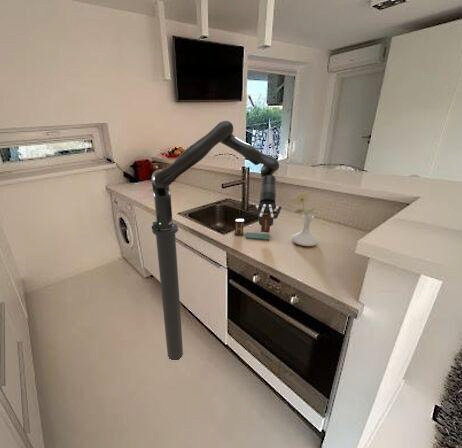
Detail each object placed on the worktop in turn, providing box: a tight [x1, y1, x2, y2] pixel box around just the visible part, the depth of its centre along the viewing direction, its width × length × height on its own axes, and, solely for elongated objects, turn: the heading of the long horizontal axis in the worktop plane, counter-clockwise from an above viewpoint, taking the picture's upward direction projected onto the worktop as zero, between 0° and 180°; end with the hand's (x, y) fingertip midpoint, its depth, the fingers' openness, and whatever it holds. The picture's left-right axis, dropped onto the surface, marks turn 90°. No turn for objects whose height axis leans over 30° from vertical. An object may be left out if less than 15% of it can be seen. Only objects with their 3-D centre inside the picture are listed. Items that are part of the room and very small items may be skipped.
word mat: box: [245, 232, 270, 241], centre depth 125 cm, size 11×6×1 cm, turn 73°
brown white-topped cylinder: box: [260, 214, 271, 234], centre depth 121 cm, size 4×4×8 cm
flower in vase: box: [291, 191, 319, 247], centre depth 112 cm, size 13×11×25 cm
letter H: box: [234, 218, 245, 237], centre depth 128 cm, size 4×4×8 cm
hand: (265, 224), depth 120 cm, fingers closed on brown white-topped cylinder, 4 cm apart
